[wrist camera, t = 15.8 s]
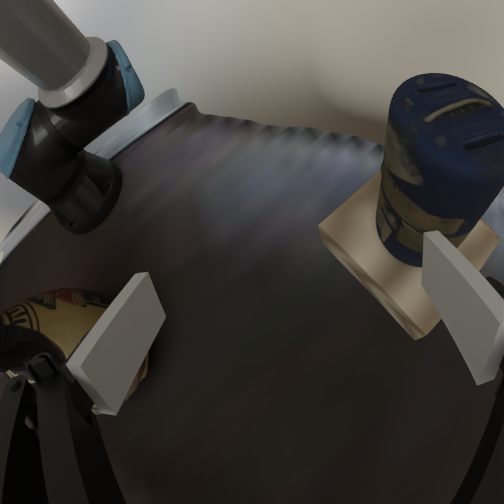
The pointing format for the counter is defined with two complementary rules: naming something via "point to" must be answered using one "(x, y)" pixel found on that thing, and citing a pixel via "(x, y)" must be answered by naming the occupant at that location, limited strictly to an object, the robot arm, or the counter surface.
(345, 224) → the dock
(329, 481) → the counter surface
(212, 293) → the counter surface
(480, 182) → the canister
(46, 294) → the ceramic jug
